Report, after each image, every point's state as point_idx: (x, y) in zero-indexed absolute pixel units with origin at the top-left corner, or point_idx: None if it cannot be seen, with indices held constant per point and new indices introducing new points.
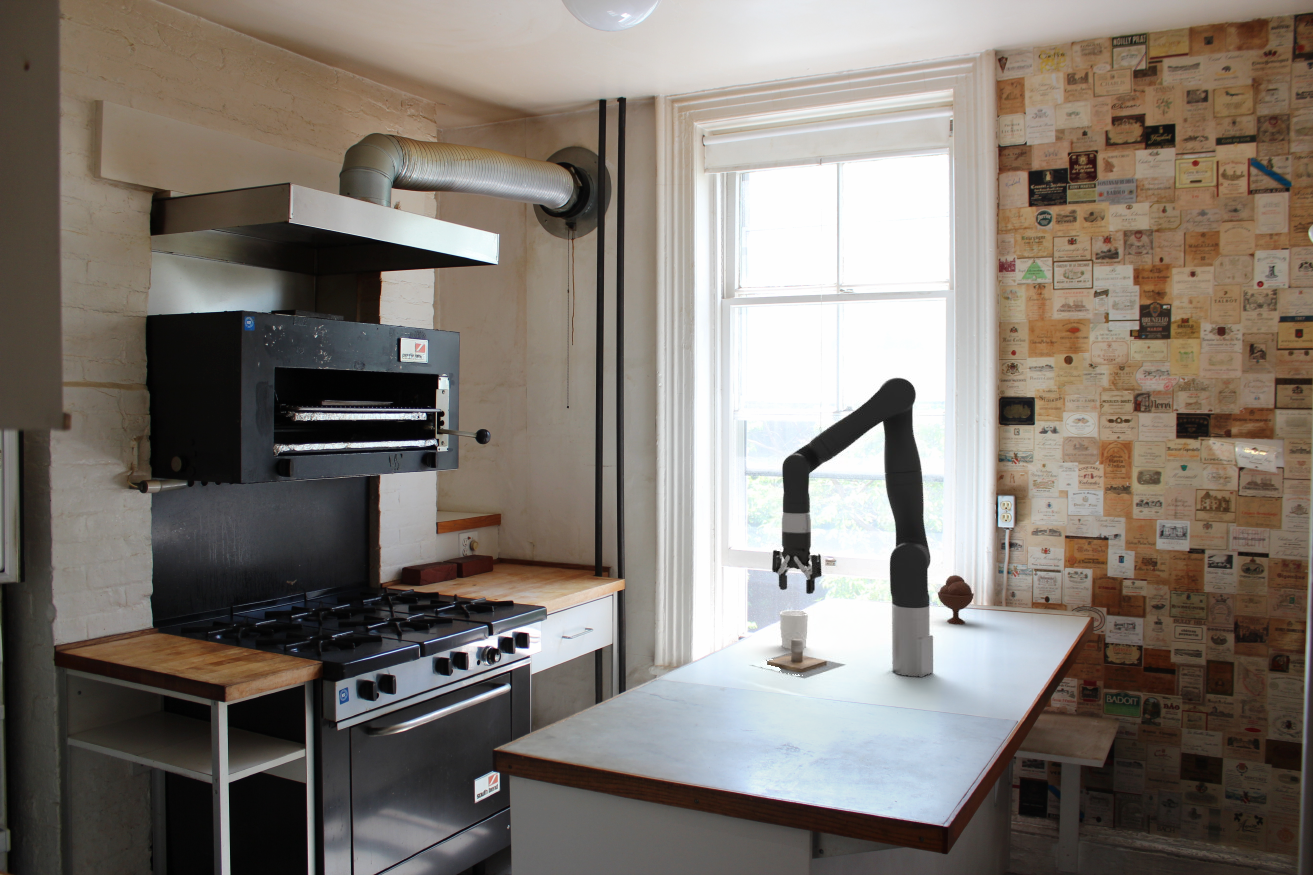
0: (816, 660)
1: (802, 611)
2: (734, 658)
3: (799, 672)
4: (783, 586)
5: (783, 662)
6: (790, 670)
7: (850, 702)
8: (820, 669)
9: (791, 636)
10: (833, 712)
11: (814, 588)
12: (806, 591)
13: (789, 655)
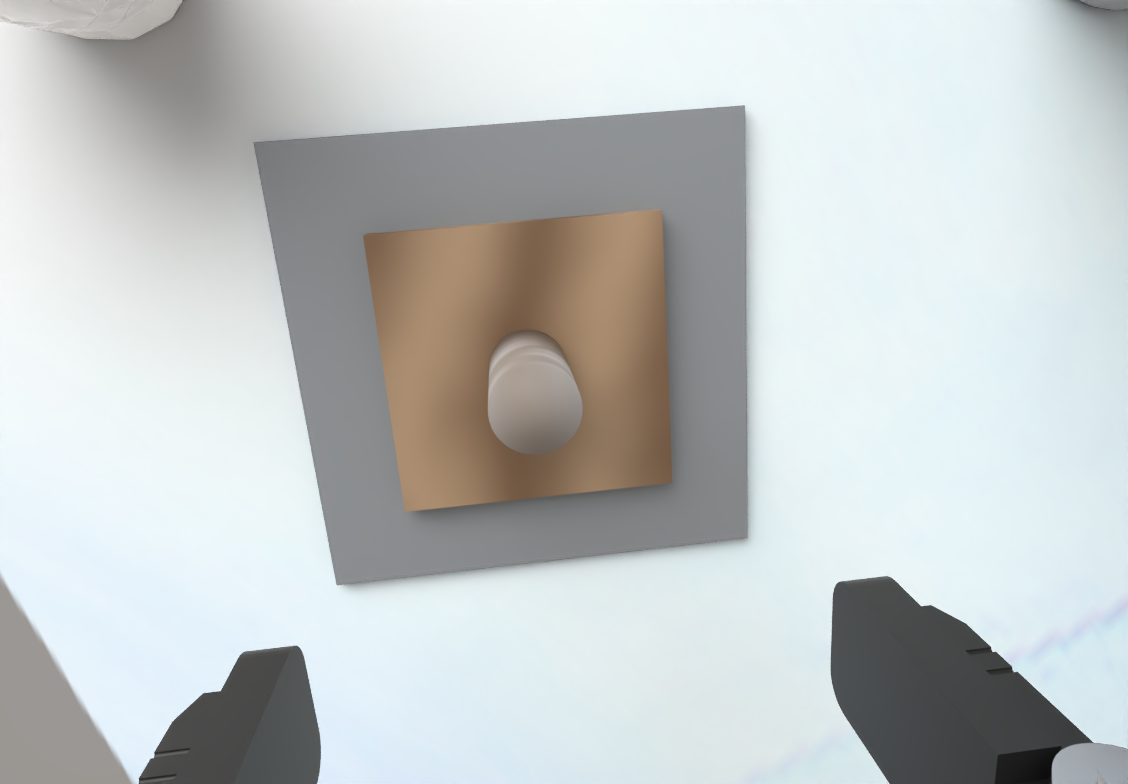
0: (609, 259)
1: None
2: (120, 516)
3: None
4: (304, 768)
5: (498, 461)
6: None
7: (1105, 628)
8: (701, 334)
9: (109, 10)
10: None
11: (976, 642)
12: (852, 718)
13: (389, 296)
